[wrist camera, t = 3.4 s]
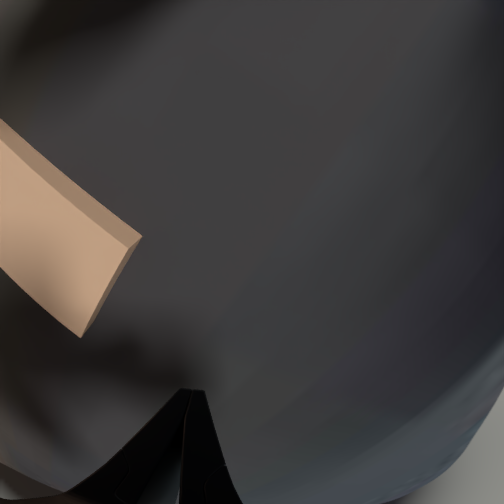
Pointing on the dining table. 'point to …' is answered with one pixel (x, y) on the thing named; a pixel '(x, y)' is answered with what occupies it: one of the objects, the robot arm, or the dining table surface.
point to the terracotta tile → (57, 236)
